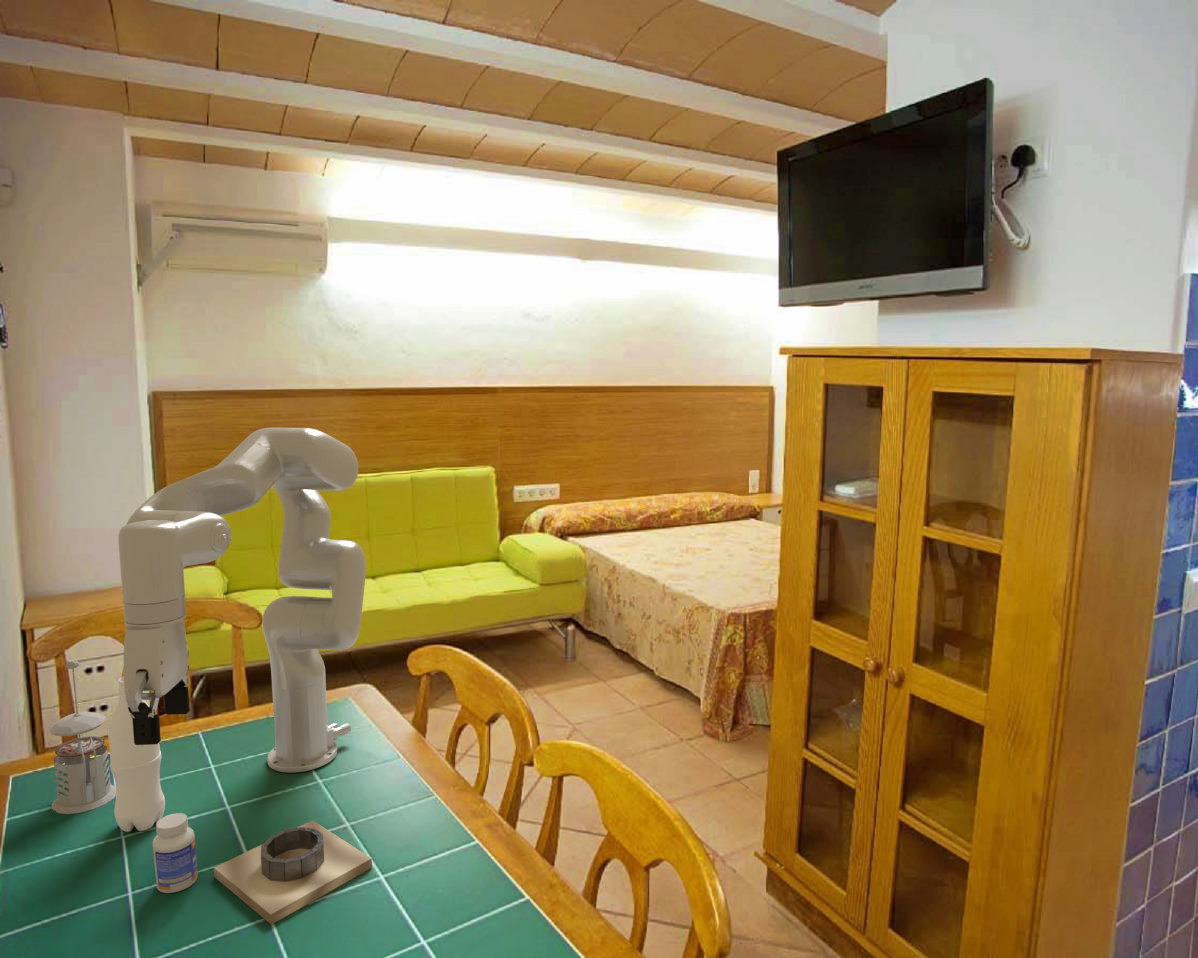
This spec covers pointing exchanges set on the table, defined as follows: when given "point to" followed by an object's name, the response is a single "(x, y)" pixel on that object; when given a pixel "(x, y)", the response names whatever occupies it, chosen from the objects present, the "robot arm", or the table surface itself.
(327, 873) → the stand plate
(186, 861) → the pill bottle
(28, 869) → the table surface
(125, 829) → the water bottle
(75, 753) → the french press
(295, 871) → the collar
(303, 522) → the robot arm
